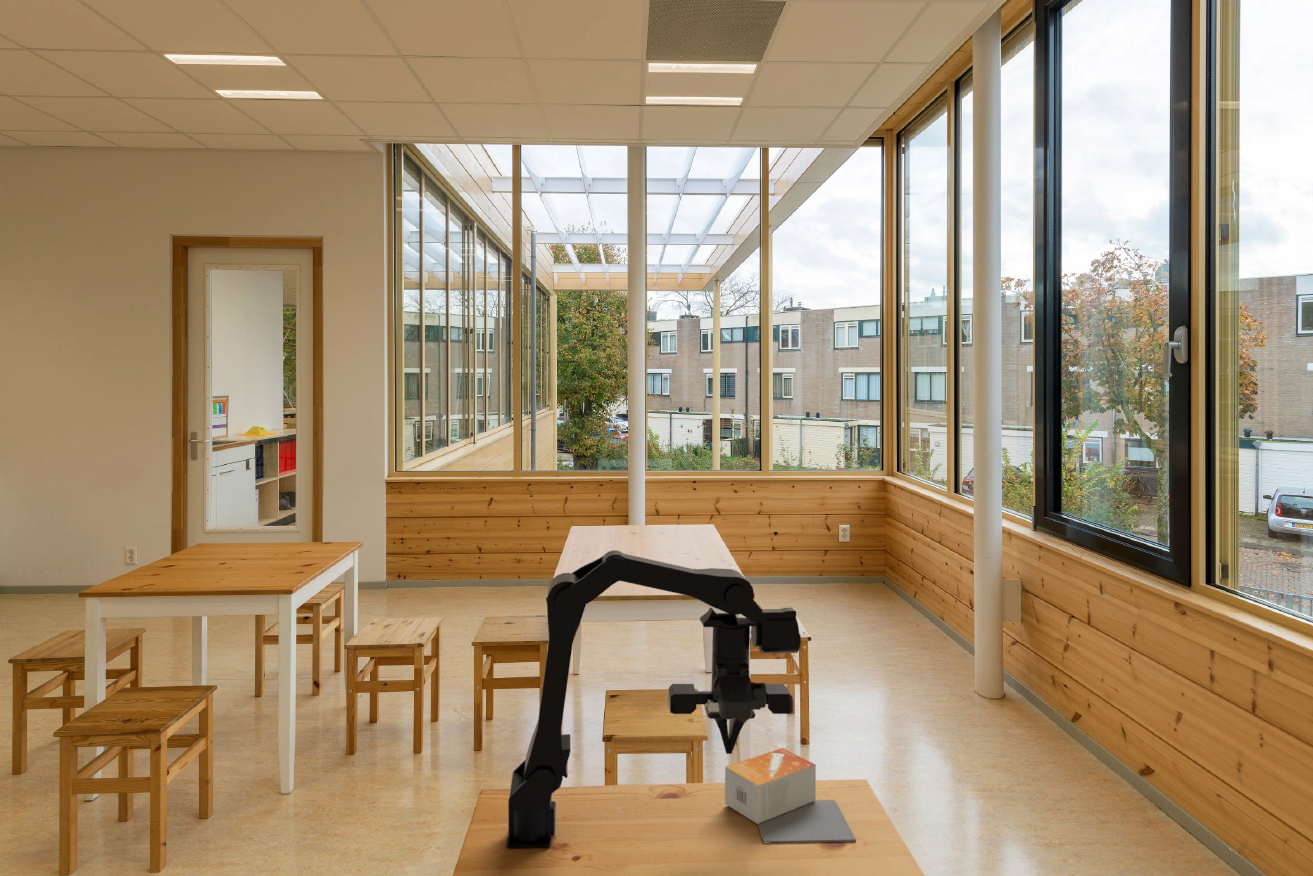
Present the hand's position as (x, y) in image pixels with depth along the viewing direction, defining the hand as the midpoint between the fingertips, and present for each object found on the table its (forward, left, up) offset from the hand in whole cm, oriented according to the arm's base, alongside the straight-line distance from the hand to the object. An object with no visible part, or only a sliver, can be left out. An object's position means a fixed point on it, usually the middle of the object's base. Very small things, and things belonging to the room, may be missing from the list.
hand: (728, 752), depth 124 cm
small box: (+2, +3, -8) cm, 9 cm away
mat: (+12, +1, -12) cm, 17 cm away
